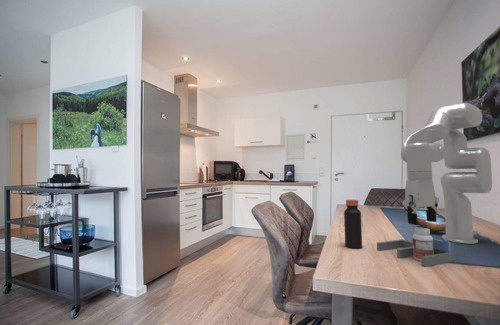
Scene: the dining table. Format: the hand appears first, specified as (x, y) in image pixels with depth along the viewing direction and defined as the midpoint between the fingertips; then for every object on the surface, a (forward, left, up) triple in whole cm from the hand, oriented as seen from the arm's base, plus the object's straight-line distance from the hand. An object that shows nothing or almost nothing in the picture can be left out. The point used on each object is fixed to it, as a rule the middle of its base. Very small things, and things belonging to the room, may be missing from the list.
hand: (422, 222), depth 89 cm
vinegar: (+13, -21, -13) cm, 28 cm away
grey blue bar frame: (+1, -4, -13) cm, 14 cm away
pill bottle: (0, 0, -13) cm, 13 cm away
